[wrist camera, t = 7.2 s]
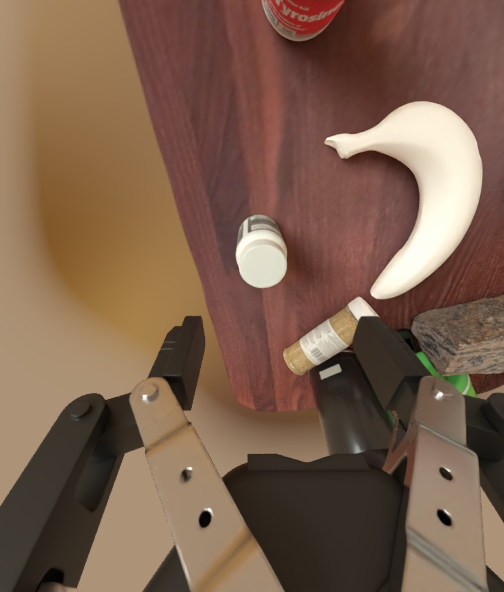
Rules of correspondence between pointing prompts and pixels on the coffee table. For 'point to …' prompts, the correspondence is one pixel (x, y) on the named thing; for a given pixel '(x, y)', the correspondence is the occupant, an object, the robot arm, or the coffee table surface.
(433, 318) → the stone block
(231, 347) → the coffee table surface
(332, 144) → the banana
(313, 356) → the sprinkles bottle
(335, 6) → the pill bottle
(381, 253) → the coffee table surface
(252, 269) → the pill bottle
